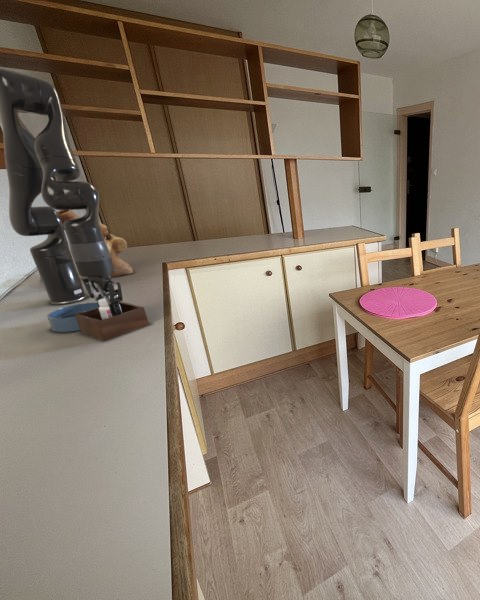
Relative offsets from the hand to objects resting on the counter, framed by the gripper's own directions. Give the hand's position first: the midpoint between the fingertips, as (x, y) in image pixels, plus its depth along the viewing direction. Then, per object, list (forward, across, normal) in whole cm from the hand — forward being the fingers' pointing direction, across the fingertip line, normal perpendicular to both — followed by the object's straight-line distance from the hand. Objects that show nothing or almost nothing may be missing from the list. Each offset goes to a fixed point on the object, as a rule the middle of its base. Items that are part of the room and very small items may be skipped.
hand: (111, 312), depth 93 cm
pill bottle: (+4, 0, 0) cm, 4 cm away
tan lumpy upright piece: (+5, +65, -30) cm, 72 cm away
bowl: (+5, +13, +2) cm, 15 cm away
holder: (+5, 0, 0) cm, 5 cm away
